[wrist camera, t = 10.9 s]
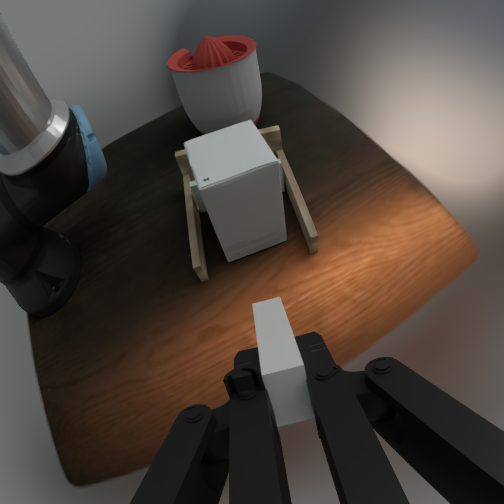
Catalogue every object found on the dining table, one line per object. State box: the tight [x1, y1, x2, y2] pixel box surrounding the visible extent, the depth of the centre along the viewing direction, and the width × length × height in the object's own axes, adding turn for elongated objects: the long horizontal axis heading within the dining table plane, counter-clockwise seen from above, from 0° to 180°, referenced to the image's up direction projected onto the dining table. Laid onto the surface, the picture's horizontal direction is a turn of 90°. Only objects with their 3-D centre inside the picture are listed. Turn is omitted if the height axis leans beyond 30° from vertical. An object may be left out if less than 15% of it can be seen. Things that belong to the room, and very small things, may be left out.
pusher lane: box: [175, 126, 318, 282], centre depth 44 cm, size 16×18×8 cm
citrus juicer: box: [167, 36, 262, 135], centre depth 52 cm, size 16×17×20 cm
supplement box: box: [184, 120, 287, 262], centre depth 40 cm, size 9×9×15 cm
